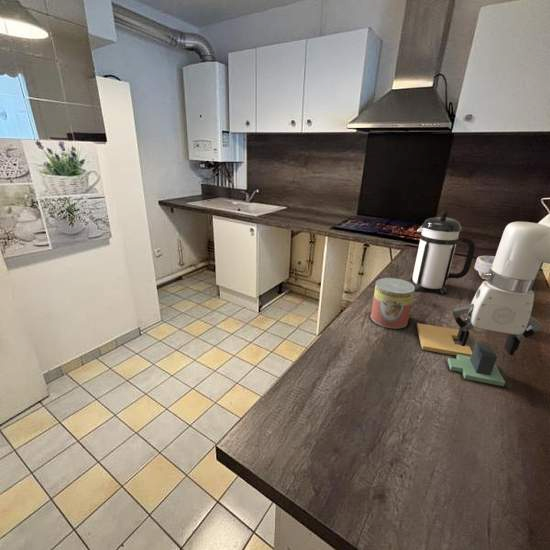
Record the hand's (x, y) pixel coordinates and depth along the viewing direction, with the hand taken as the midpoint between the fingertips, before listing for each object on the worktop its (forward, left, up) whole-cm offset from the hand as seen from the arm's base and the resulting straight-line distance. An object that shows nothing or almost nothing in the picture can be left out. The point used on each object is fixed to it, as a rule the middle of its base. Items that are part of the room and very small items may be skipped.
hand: (484, 347), depth 69 cm
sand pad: (+5, -11, -7) cm, 14 cm away
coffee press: (+2, -50, -7) cm, 51 cm away
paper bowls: (-25, -68, -7) cm, 73 cm away
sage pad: (+1, 0, -7) cm, 7 cm away
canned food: (+19, -19, -7) cm, 28 cm away
